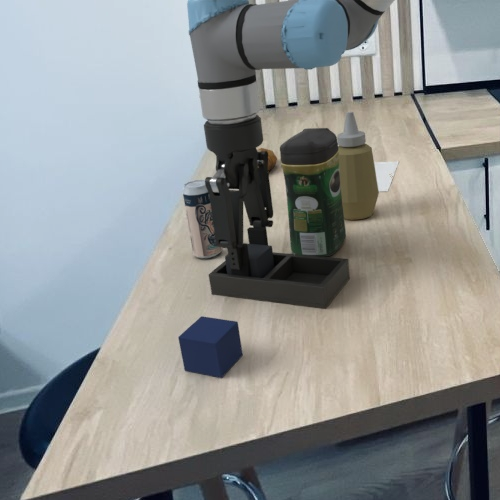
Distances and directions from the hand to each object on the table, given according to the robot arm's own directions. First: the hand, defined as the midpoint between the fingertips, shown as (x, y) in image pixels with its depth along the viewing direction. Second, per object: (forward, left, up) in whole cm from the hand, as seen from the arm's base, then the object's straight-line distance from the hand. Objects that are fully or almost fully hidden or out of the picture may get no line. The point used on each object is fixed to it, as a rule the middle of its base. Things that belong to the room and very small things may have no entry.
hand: (252, 277), depth 94 cm
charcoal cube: (0, 0, 0) cm, 0 cm away
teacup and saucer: (+5, -50, -1) cm, 50 cm away
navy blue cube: (-5, +20, -1) cm, 21 cm away
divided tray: (-4, 0, -1) cm, 4 cm away
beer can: (+13, -8, -1) cm, 15 cm away
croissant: (+26, -54, -1) cm, 60 cm away
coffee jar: (-4, -14, -1) cm, 15 cm away
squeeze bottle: (-5, -29, -1) cm, 29 cm away
